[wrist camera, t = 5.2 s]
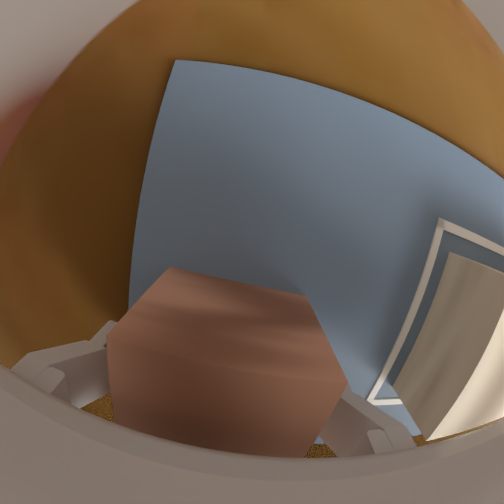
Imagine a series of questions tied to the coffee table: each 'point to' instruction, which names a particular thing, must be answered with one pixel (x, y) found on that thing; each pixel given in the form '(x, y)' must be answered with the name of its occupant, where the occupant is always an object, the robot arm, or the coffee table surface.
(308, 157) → the board
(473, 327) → the ash base block
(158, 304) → the terracotta cube
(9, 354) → the coffee table surface
